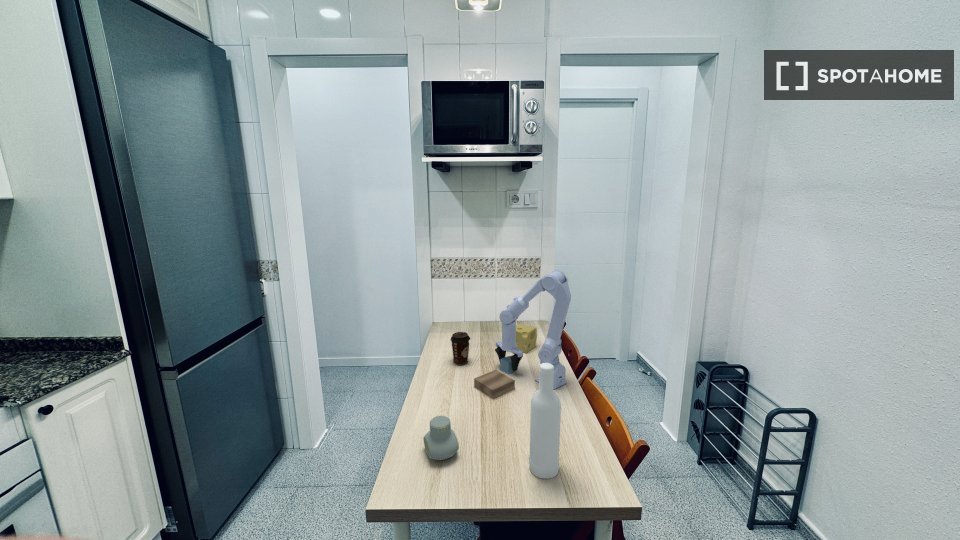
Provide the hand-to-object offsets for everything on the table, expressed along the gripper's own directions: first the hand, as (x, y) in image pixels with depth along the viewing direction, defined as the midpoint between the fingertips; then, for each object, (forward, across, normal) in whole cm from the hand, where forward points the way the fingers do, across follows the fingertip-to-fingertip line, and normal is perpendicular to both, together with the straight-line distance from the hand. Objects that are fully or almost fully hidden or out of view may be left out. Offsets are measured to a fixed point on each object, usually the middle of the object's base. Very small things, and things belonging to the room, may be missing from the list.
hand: (508, 367), depth 152 cm
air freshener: (+2, -24, +49) cm, 55 cm away
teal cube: (+2, 0, 0) cm, 2 cm away
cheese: (+2, +13, -21) cm, 25 cm away
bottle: (+2, -47, +31) cm, 56 cm away
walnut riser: (+2, -7, +14) cm, 16 cm away
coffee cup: (+2, +19, +11) cm, 22 cm away
